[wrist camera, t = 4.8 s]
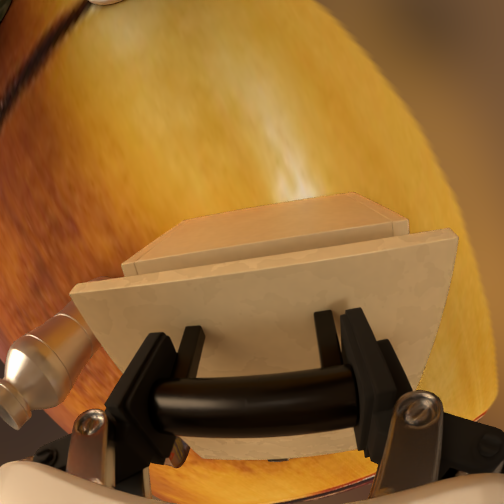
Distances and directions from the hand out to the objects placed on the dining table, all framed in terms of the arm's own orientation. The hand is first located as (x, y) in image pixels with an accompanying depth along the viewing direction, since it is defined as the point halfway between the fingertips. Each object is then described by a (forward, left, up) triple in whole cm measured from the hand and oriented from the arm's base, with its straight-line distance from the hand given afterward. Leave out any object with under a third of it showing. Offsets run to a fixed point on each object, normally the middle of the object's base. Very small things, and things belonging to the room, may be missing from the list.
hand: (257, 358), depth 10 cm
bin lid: (+6, 0, -3) cm, 7 cm away
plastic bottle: (+4, -19, -18) cm, 26 cm away
